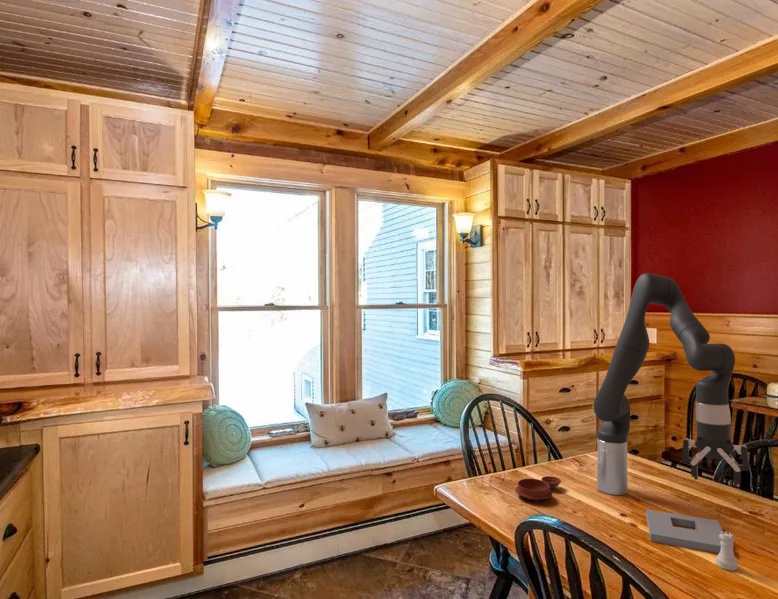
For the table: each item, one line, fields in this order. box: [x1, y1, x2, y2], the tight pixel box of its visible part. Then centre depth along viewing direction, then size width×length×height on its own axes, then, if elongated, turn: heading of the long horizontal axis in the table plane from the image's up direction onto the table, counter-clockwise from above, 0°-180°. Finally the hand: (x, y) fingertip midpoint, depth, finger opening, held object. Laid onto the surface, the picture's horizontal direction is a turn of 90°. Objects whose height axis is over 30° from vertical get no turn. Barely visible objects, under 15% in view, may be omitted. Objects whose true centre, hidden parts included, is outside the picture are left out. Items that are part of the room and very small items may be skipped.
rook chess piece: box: [715, 530, 739, 572], centre depth 116 cm, size 4×4×8 cm
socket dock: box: [645, 509, 723, 554], centre depth 132 cm, size 18×16×2 cm
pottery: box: [514, 476, 562, 502], centre depth 159 cm, size 12×20×4 cm, turn 131°
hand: (715, 481), depth 124 cm, fingers open, 8 cm apart
